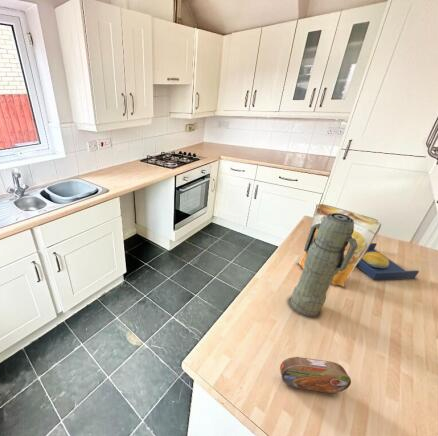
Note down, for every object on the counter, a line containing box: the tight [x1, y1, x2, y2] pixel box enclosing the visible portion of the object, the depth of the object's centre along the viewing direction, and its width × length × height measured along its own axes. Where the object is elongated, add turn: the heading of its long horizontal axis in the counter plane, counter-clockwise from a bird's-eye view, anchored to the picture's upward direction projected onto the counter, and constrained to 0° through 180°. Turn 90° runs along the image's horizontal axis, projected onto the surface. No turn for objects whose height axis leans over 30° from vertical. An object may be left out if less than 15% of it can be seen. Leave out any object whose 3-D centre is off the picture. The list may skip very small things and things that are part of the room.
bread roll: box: [362, 251, 390, 268], centre depth 101 cm, size 8×9×4 cm
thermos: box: [289, 213, 358, 318], centre depth 75 cm, size 9×12×35 cm
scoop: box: [356, 242, 420, 281], centre depth 101 cm, size 26×19×4 cm
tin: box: [279, 356, 352, 394], centre depth 60 cm, size 15×3×8 cm, turn 80°
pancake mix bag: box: [298, 203, 382, 288], centre depth 91 cm, size 7×19×28 cm, turn 34°
